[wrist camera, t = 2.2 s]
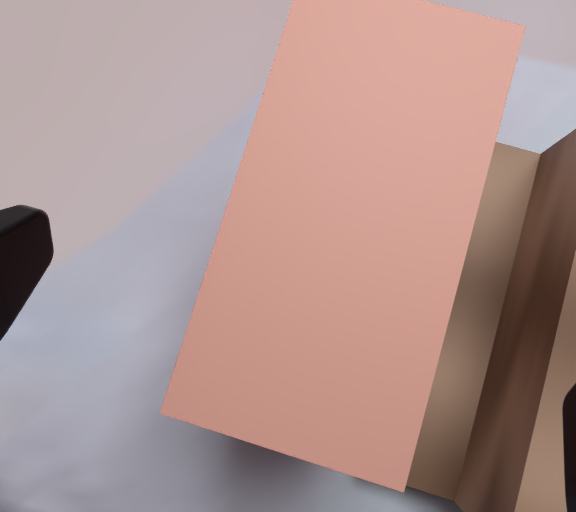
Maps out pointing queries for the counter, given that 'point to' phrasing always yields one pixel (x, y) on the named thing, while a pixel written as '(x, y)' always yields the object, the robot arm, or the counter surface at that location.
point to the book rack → (508, 344)
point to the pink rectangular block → (347, 234)
